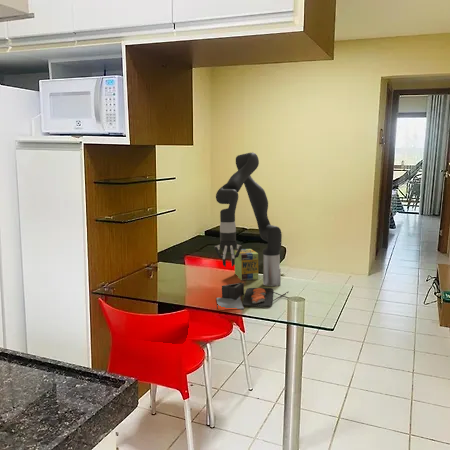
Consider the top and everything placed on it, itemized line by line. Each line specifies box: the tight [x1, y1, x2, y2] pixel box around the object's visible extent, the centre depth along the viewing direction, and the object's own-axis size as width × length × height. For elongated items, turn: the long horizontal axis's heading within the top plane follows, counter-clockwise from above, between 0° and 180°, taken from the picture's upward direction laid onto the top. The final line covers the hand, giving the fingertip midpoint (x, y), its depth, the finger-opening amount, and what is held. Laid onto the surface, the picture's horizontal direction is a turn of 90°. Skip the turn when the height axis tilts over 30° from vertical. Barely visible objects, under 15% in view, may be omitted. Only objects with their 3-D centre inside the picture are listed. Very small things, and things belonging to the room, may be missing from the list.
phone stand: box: [221, 282, 245, 300], centre depth 235 cm, size 9×6×12 cm
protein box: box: [234, 248, 259, 282], centre depth 273 cm, size 10×15×16 cm
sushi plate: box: [242, 287, 289, 307], centre depth 231 cm, size 29×30×4 cm
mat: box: [215, 296, 245, 310], centre depth 224 cm, size 12×18×1 cm, turn 4°
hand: (228, 266), depth 222 cm, fingers open, 3 cm apart
